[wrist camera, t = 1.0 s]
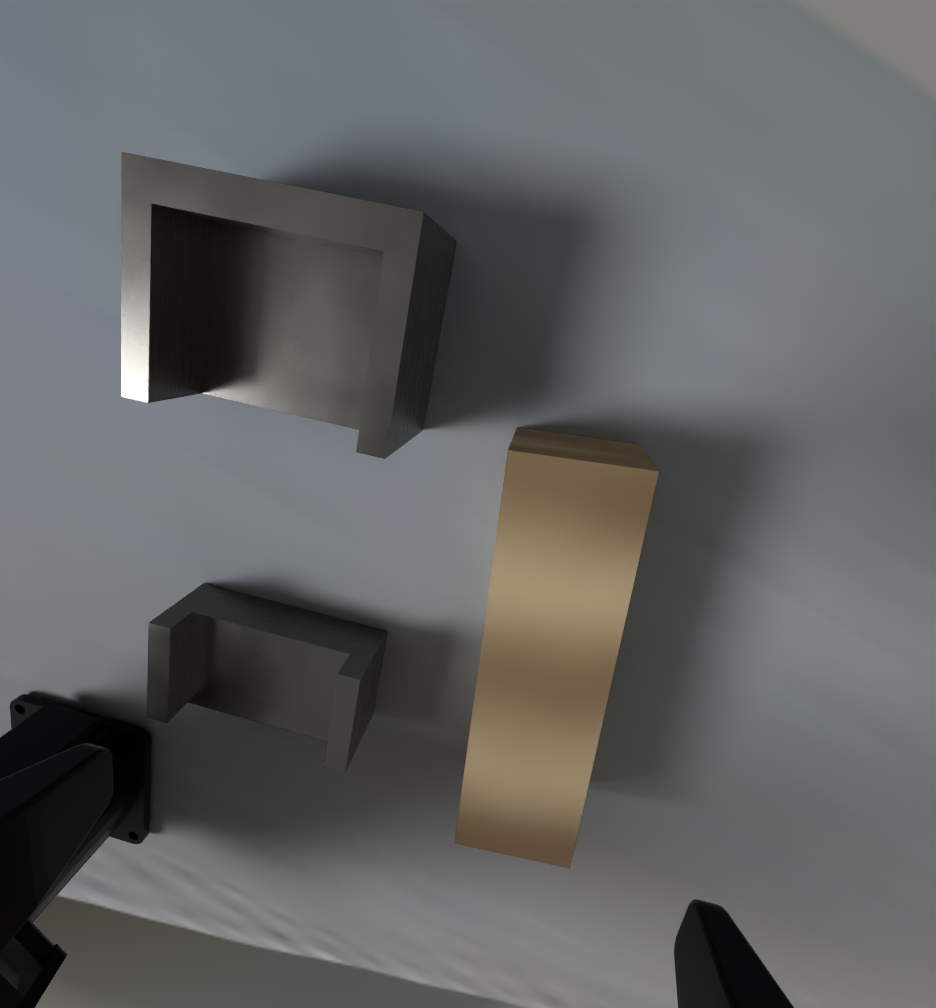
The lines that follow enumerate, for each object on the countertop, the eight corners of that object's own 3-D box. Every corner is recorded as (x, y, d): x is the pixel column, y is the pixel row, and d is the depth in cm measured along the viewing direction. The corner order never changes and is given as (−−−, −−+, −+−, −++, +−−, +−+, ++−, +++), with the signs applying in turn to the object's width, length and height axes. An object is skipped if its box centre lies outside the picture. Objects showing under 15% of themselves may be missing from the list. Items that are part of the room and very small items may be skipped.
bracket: (423, 430, 19) (385, 458, 15) (214, 382, 20) (121, 396, 16) (456, 240, 17) (423, 211, 13) (224, 193, 18) (121, 151, 14)
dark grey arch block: (372, 714, 23) (345, 773, 20) (199, 667, 24) (146, 717, 21) (387, 631, 22) (360, 680, 19) (203, 583, 22) (148, 622, 19)
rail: (567, 779, 23) (570, 868, 19) (470, 760, 23) (454, 843, 20) (638, 442, 19) (658, 471, 15) (517, 426, 19) (508, 449, 15)
